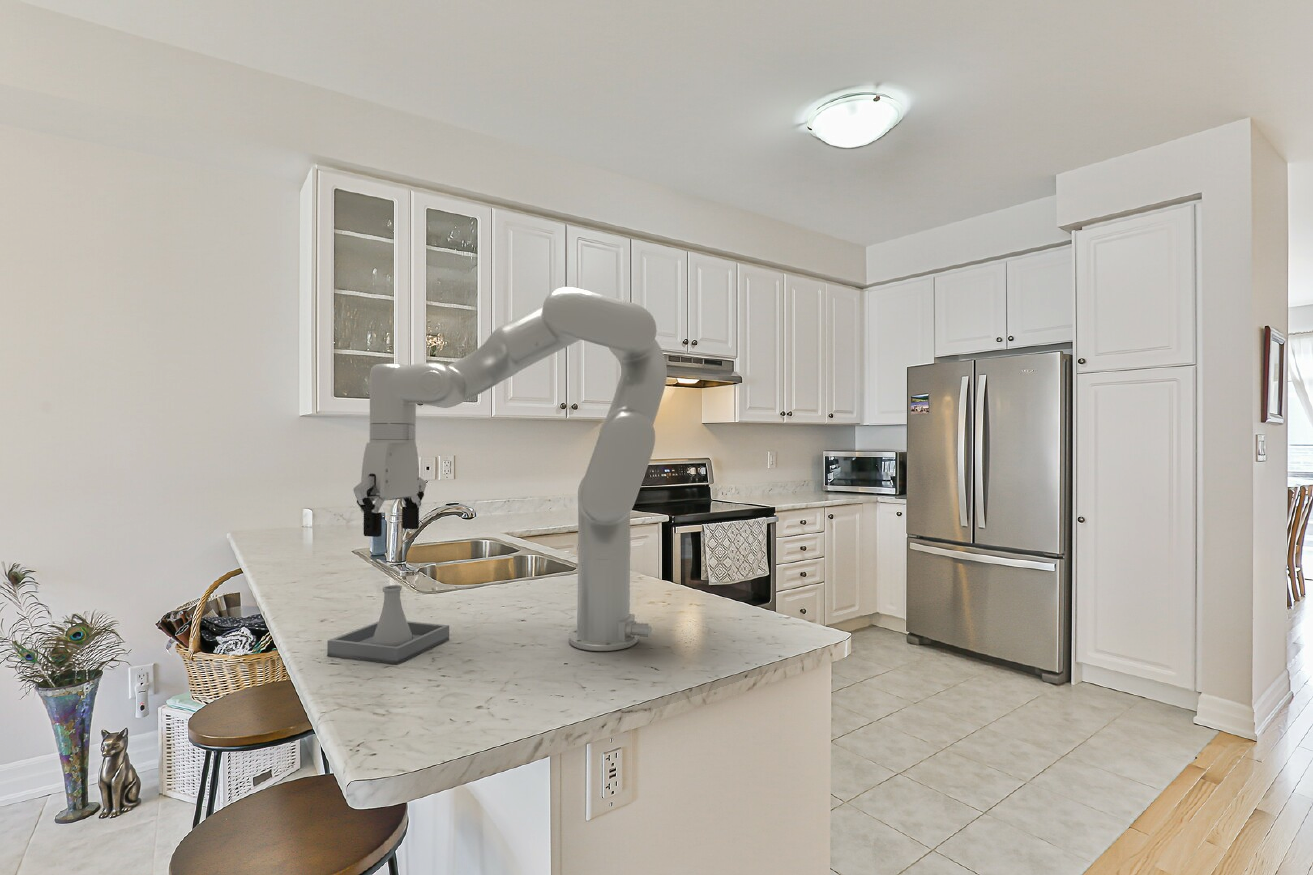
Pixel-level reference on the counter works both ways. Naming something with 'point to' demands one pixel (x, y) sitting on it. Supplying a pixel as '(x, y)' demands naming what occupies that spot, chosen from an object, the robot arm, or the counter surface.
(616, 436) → the robot arm
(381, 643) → the flask
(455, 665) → the counter surface
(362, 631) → the tray
